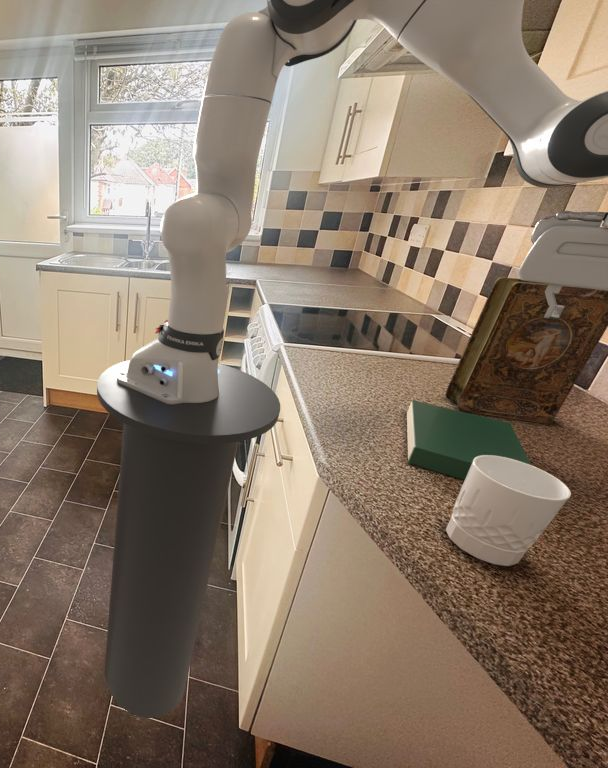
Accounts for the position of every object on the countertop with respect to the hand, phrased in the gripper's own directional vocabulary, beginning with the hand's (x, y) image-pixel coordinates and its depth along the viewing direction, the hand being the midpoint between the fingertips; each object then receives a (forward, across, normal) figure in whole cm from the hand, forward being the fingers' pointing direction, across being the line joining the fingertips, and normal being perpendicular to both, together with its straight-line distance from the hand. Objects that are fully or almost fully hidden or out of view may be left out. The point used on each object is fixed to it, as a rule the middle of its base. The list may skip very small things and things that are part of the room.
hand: (600, 326), depth 55 cm
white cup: (+23, -1, -26) cm, 35 cm away
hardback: (+23, -8, -2) cm, 24 cm away
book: (+23, -6, +22) cm, 32 cm away
